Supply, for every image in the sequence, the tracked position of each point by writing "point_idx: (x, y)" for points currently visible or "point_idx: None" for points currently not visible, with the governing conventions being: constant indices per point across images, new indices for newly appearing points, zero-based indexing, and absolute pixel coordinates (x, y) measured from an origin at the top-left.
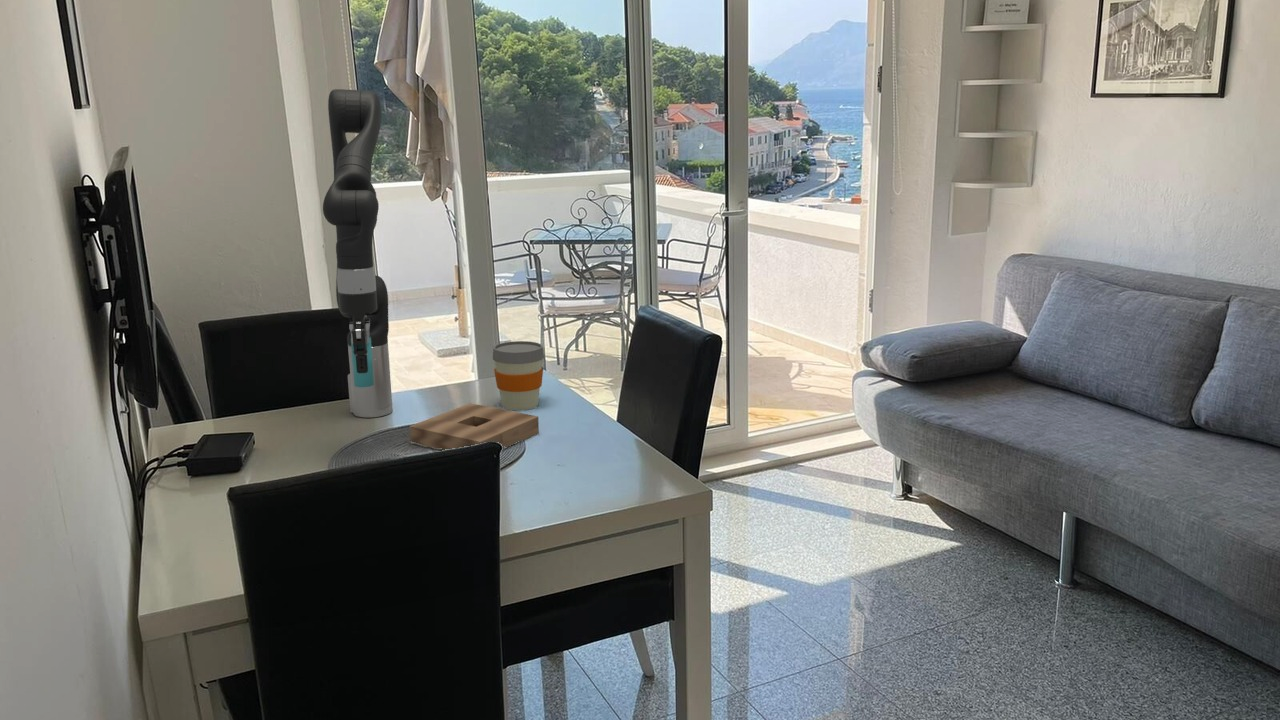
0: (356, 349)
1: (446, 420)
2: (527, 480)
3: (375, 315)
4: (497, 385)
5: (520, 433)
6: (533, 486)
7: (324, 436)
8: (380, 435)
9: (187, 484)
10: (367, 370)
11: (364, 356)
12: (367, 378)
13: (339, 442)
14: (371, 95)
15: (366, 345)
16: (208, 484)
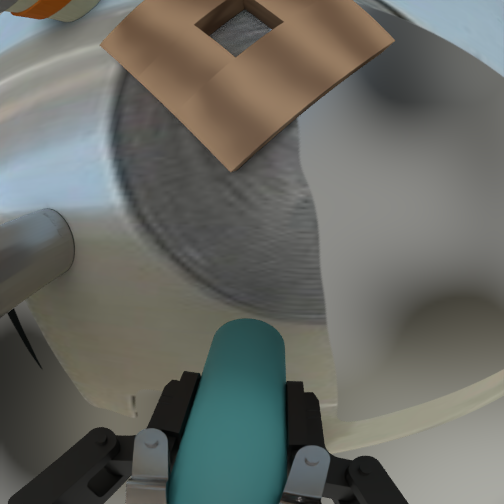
0: (350, 499)
1: (208, 80)
2: (469, 35)
3: None
4: (53, 11)
5: None
6: (486, 41)
7: (156, 324)
8: (166, 231)
9: None
10: (302, 385)
11: (325, 449)
12: (283, 359)
13: (192, 305)
14: None
15: (320, 494)
16: None
